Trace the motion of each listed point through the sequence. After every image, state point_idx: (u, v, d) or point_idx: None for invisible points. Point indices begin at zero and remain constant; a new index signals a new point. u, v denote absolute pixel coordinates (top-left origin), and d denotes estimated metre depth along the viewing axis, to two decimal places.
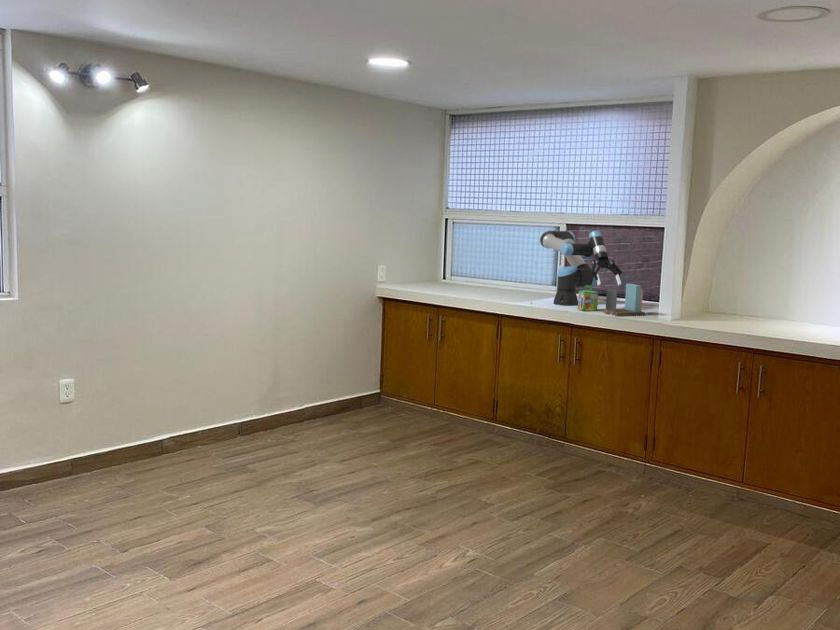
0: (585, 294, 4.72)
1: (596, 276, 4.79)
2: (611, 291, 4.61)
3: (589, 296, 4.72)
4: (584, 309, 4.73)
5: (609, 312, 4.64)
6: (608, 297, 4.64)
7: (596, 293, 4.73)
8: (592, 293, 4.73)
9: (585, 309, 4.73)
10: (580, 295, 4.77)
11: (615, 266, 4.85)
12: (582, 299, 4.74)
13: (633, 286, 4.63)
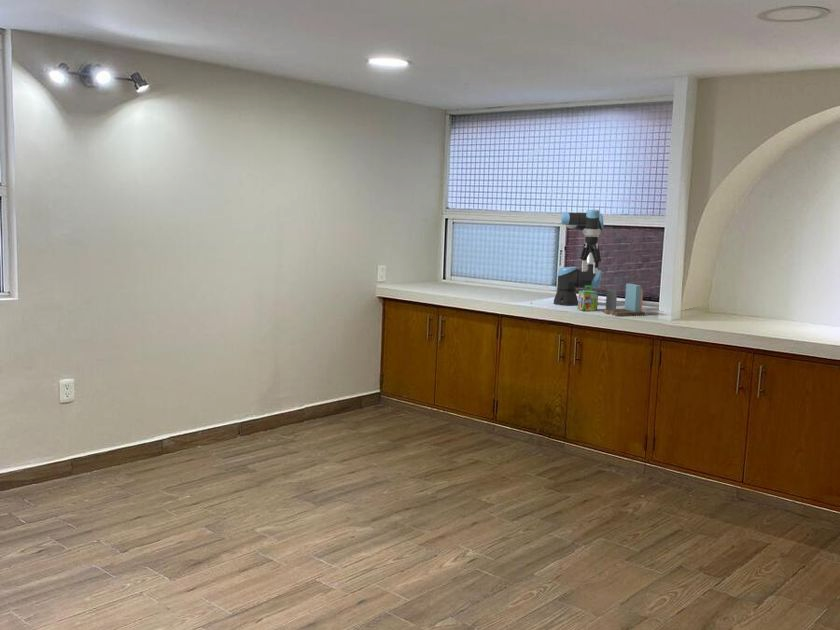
0: (585, 294, 4.72)
1: None
2: (611, 291, 4.61)
3: (589, 296, 4.72)
4: (584, 309, 4.73)
5: (609, 312, 4.64)
6: (608, 297, 4.64)
7: (596, 293, 4.73)
8: (592, 293, 4.73)
9: (585, 309, 4.73)
10: (580, 295, 4.77)
11: (595, 252, 4.66)
12: (582, 299, 4.74)
13: (633, 286, 4.63)
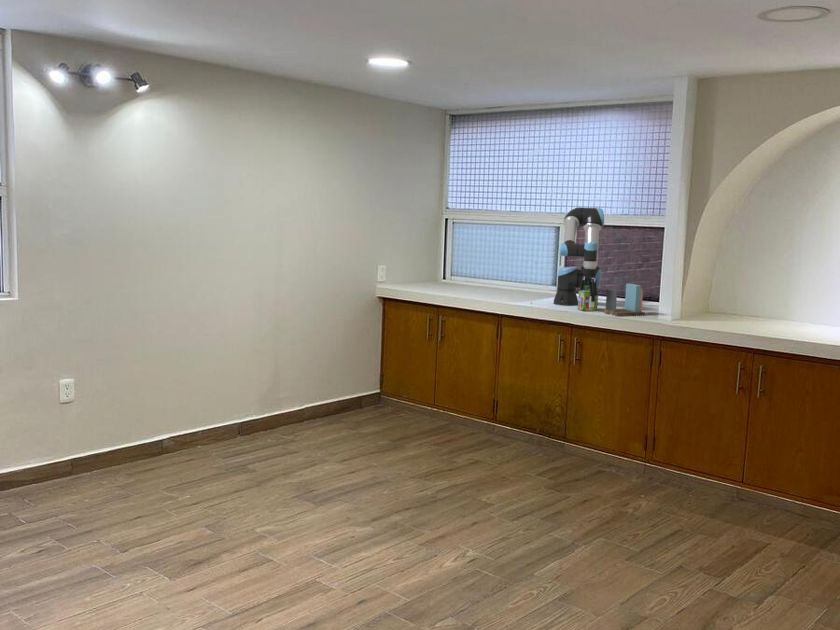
0: (585, 294, 4.72)
1: None
2: (611, 291, 4.61)
3: (589, 296, 4.72)
4: (584, 309, 4.73)
5: (609, 312, 4.64)
6: (608, 297, 4.64)
7: None
8: None
9: (585, 309, 4.73)
10: (580, 295, 4.77)
11: (592, 286, 4.70)
12: (582, 299, 4.73)
13: (633, 286, 4.63)
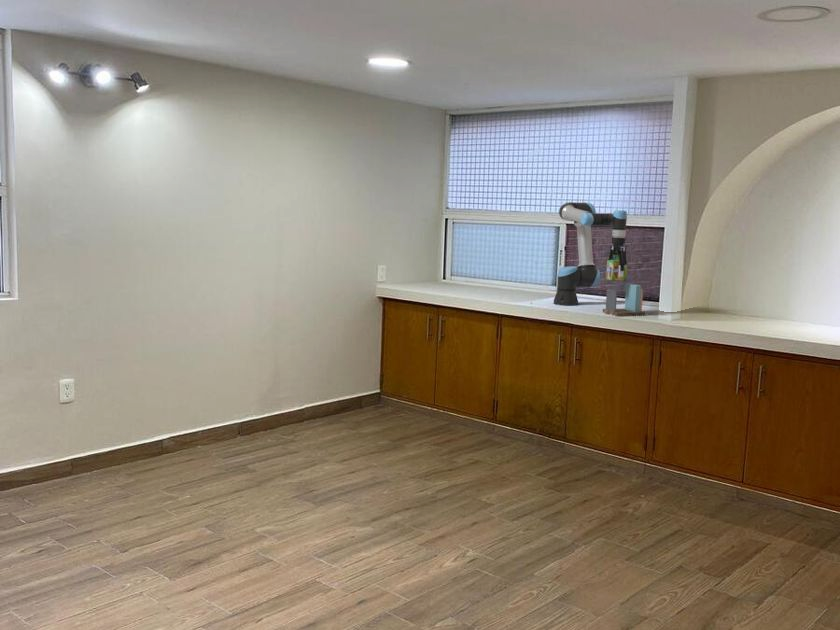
0: (614, 264, 4.63)
1: None
2: (611, 291, 4.61)
3: (618, 265, 4.64)
4: (613, 279, 4.64)
5: (609, 312, 4.64)
6: (608, 297, 4.64)
7: None
8: None
9: (614, 279, 4.64)
10: (609, 265, 4.68)
11: (621, 255, 4.61)
12: (611, 268, 4.65)
13: (633, 286, 4.63)
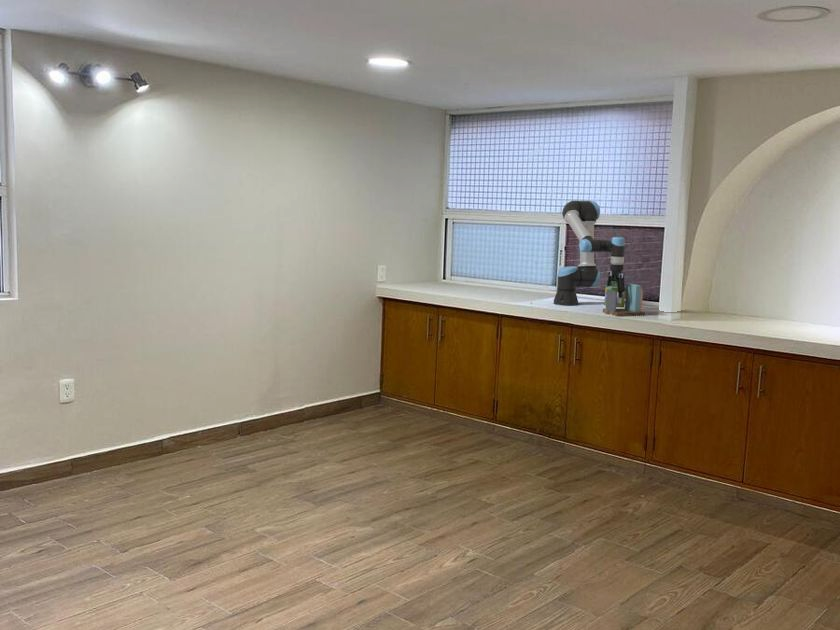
0: None
1: None
2: (611, 291, 4.61)
3: None
4: None
5: (609, 312, 4.64)
6: (608, 297, 4.64)
7: None
8: None
9: None
10: None
11: (619, 282, 4.64)
12: None
13: (633, 286, 4.63)
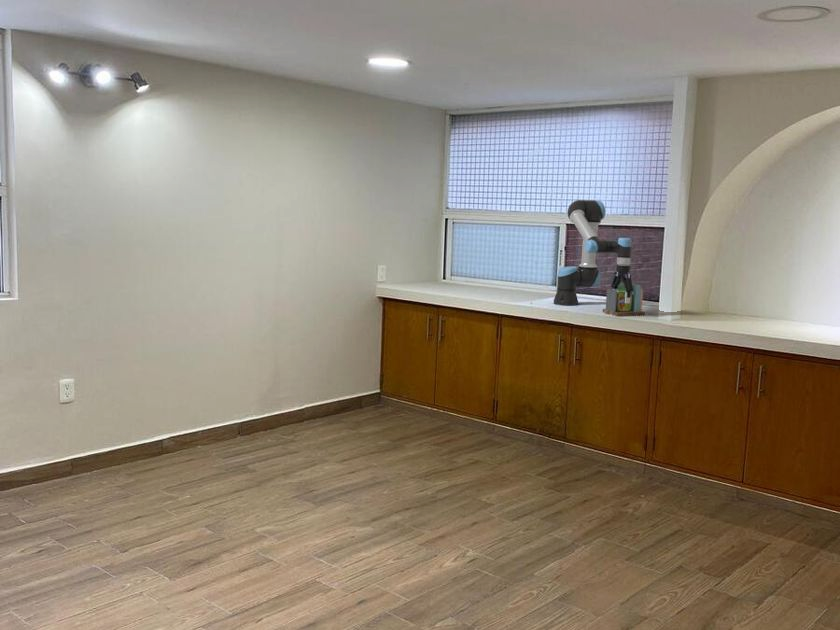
0: (619, 294, 4.59)
1: None
2: (611, 291, 4.61)
3: (623, 296, 4.60)
4: (618, 309, 4.60)
5: (609, 312, 4.64)
6: (608, 297, 4.64)
7: None
8: None
9: (619, 309, 4.60)
10: None
11: (627, 282, 4.56)
12: None
13: (633, 286, 4.63)
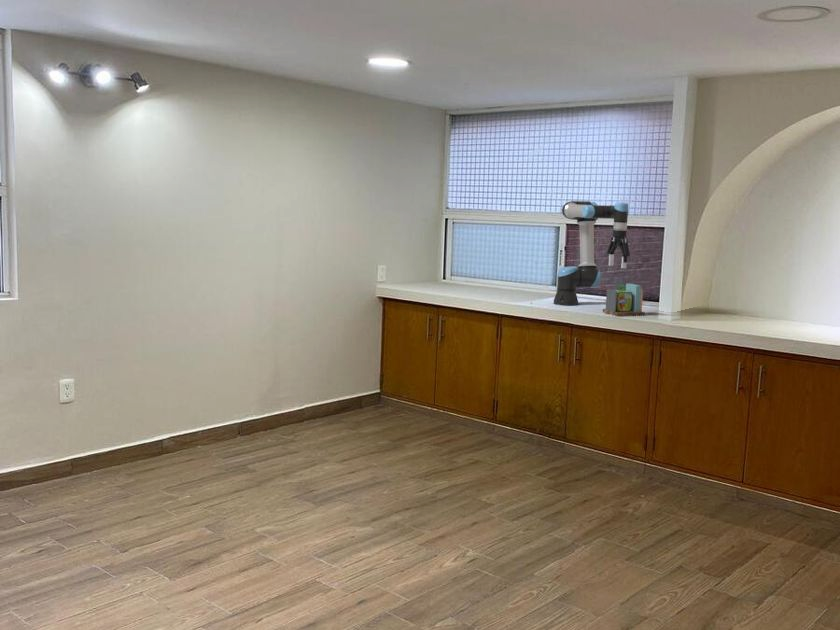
0: (619, 294, 4.59)
1: None
2: (611, 291, 4.61)
3: (623, 296, 4.60)
4: (618, 309, 4.60)
5: (609, 312, 4.64)
6: (608, 297, 4.64)
7: (630, 293, 4.60)
8: (626, 293, 4.60)
9: (619, 309, 4.60)
10: None
11: (623, 247, 4.56)
12: None
13: (633, 286, 4.63)
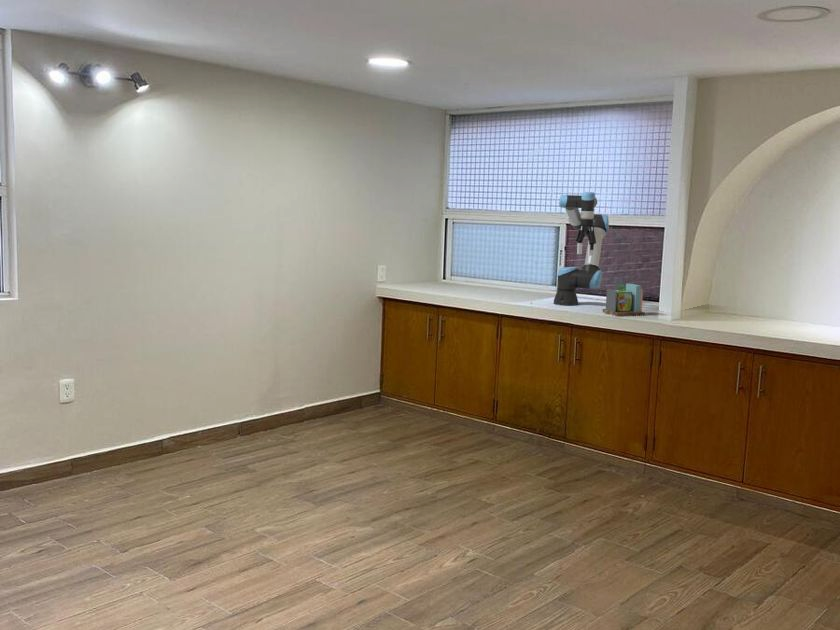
0: (619, 294, 4.59)
1: (578, 245, 4.82)
2: (611, 291, 4.61)
3: (623, 296, 4.60)
4: (618, 309, 4.60)
5: (609, 312, 4.64)
6: (608, 297, 4.64)
7: (630, 293, 4.60)
8: (626, 293, 4.60)
9: (619, 309, 4.60)
10: None
11: (590, 235, 4.67)
12: None
13: (633, 286, 4.63)
